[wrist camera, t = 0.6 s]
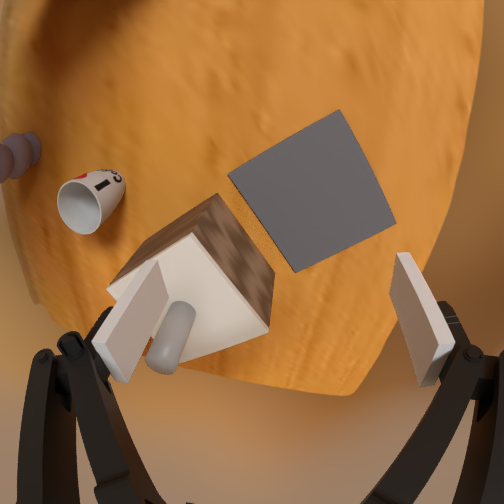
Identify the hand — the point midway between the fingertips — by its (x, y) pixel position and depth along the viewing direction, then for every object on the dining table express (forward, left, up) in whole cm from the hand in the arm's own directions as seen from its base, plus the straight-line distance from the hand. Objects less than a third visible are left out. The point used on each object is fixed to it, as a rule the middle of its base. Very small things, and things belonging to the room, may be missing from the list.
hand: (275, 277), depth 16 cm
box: (+7, -19, -29) cm, 35 cm away
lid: (+7, -19, -17) cm, 26 cm away
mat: (+7, +1, -29) cm, 29 cm away
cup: (-12, -25, -29) cm, 40 cm away
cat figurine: (-29, -36, -29) cm, 54 cm away
